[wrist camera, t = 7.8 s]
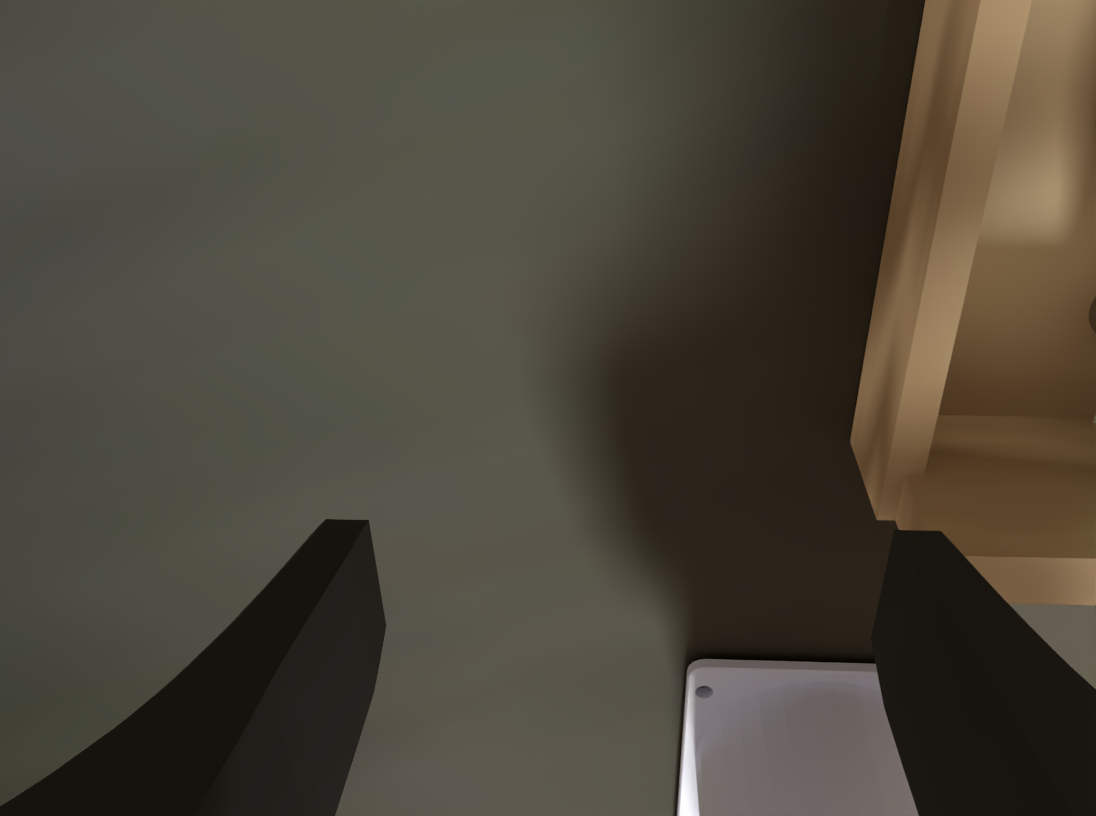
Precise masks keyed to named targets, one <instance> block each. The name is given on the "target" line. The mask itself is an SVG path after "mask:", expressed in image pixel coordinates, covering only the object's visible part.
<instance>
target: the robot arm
mask: <svg viewBox="0 0 1096 816" xmlns="http://www.w3.org/2000/svg"><path fill="white" fill-rule="evenodd" d="M385 629H386V622H385V616H384V610H383V604H382V598H381V592H380V586H379V580H378V574H377V568H376V562H375V556H374V550H373V544H372V538H371V532H370V526H369V520H334V519H326V520H325V521H324V522H323V523H322V524H321V525H319V527H318V528H317V529H316V530H315V531H314V532H313V533H312V534H311V536H310V537H309V538H308V539H307V540H306V541H305V542H304V544H303V545H302V546H301V547H300V548H299V549H298V551H297V552H296V553H295V554H294V555H293V556H292V557H291V559H290V560H289V561H288V562H287V563H286V564H285V565H284V567H283V568H282V569H281V570H280V571H279V572H278V573H277V574H276V576H275V577H274V578H273V579H272V580H271V581H270V582H269V583H268V584H267V586H266V587H265V588H264V589H263V590H262V591H261V592H260V593H259V594H258V595H257V596H256V597H255V598H254V599H253V601H252V602H251V603H250V604H249V605H248V606H247V607H246V608H245V609H244V610H243V611H242V612H241V613H240V614H239V615H238V617H237V618H236V619H235V620H234V621H233V622H232V623H231V624H230V625H229V626H228V627H227V628H226V629H225V630H224V631H223V632H222V633H221V634H220V635H219V636H218V637H217V638H216V639H215V640H214V641H213V642H212V643H211V644H210V645H209V646H208V647H207V648H205V649H204V650H203V651H202V652H201V653H200V654H199V655H198V656H197V657H196V658H195V659H194V660H193V661H192V662H191V663H190V664H189V665H188V666H187V667H186V668H185V669H184V670H183V671H182V672H180V673H179V674H178V675H177V676H176V677H175V678H174V679H173V680H172V681H170V682H169V683H168V684H167V685H166V686H165V687H164V688H163V689H161V690H160V691H159V692H158V693H157V694H156V695H154V696H153V697H152V698H151V699H150V700H149V701H147V702H146V703H145V704H144V705H143V706H141V707H140V708H139V709H138V710H136V711H135V712H134V713H133V714H132V715H130V716H129V717H128V718H127V719H126V720H124V721H123V722H122V723H120V724H119V725H118V726H117V727H115V728H114V729H113V730H111V731H110V732H109V733H107V734H106V735H104V736H103V737H102V738H100V739H99V740H97V741H96V742H95V743H93V744H92V745H90V746H89V747H88V748H86V749H85V750H84V751H82V752H81V753H79V754H78V755H77V756H75V757H74V758H72V759H71V760H70V761H68V762H67V763H65V764H64V765H63V766H61V767H60V768H59V769H57V770H56V771H54V772H53V773H51V774H50V775H48V776H47V777H45V778H44V779H43V780H41V781H39V782H38V783H36V784H35V785H33V786H32V787H30V788H29V789H27V790H25V791H24V792H22V793H21V794H19V795H18V796H16V797H15V798H13V799H12V800H10V801H8V802H7V803H5V804H3V805H2V806H0V816H335V814H336V811H337V808H338V804H339V801H340V798H341V795H342V792H343V789H344V786H345V782H346V779H347V776H348V773H349V770H350V767H351V764H352V761H353V757H354V754H355V751H356V748H357V745H358V742H359V739H360V735H361V732H362V729H363V726H364V723H365V719H366V716H367V713H368V710H369V706H370V703H371V700H372V697H373V693H374V689H375V684H376V679H377V674H378V668H379V663H380V658H381V652H382V646H383V641H384V635H385ZM871 639H872V645H873V651H874V657H875V662H876V664H869V663H833V662H797V661H762V660H726V659H700V660H697V661H694V662H692V663H691V664H690V665H689V666H688V669H687V678H686V692H685V706H684V720H683V734H682V748H681V762H680V777H679V791H678V805H677V816H1096V689H1095V688H1093V687H1092V686H1091V685H1090V684H1089V683H1088V682H1087V681H1086V680H1085V679H1084V678H1082V677H1081V676H1080V675H1079V674H1078V673H1077V672H1076V671H1075V670H1074V669H1073V668H1071V667H1070V666H1069V665H1068V664H1067V663H1066V662H1065V661H1064V660H1063V659H1062V658H1061V657H1060V656H1059V655H1058V654H1057V653H1056V652H1055V651H1054V650H1053V649H1052V648H1051V647H1050V646H1049V645H1048V644H1047V643H1046V642H1045V641H1044V640H1043V639H1042V638H1041V637H1040V636H1039V635H1038V634H1037V633H1036V632H1035V631H1034V630H1033V629H1032V628H1031V627H1030V626H1029V625H1028V624H1027V623H1026V622H1025V621H1024V620H1023V619H1022V618H1021V617H1020V616H1019V614H1018V613H1017V612H1016V611H1015V610H1014V609H1013V608H1012V607H1011V606H1010V605H1009V604H1008V603H1007V602H1006V601H1005V600H1004V599H1003V598H1002V596H1001V595H1000V594H999V593H998V592H997V591H996V590H995V589H994V588H993V587H992V586H991V585H990V584H989V582H988V581H987V580H986V579H985V578H984V577H983V576H982V575H981V574H980V573H979V571H978V570H977V569H976V568H975V567H974V566H973V565H972V564H971V563H970V562H969V561H968V559H967V558H966V557H965V556H964V555H963V554H962V553H961V552H960V551H959V550H958V549H957V547H956V546H955V545H954V544H953V543H952V542H951V541H950V540H949V539H948V538H947V537H946V536H945V535H944V533H943V532H942V531H927V530H894V534H893V539H892V544H891V548H890V553H889V558H888V562H887V567H886V572H885V576H884V581H883V586H882V590H881V595H880V600H879V604H878V609H877V614H876V618H875V623H874V628H873V632H872V637H871ZM701 686H708V687H705V688H701Z"/></svg>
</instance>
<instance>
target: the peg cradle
mask: <svg viewBox="0 0 1096 816" xmlns="http://www.w3.org/2000/svg"><path fill="white" fill-rule="evenodd" d="M1095 415H1096V0H925V6H924V12H923V18H922V23H921V29H920V35H919V41H918V47H917V53H916V59H915V64H914V70H913V76H912V82H911V88H910V94H909V99H908V105H907V111H906V117H905V123H904V129H903V135H902V140H901V146H900V152H899V158H898V164H897V170H896V176H895V181H894V187H893V193H892V199H891V205H890V211H889V216H888V222H887V228H886V234H885V240H884V246H883V252H882V257H881V263H880V269H879V275H878V281H877V287H876V293H875V298H874V304H873V310H872V316H871V322H870V328H869V333H868V339H867V345H866V351H865V357H864V363H863V369H862V374H861V380H860V386H859V392H858V398H857V404H856V410H855V415H854V421H853V427H852V433H851V439H850V443H851V446H852V449H853V452H854V455H855V458H856V461H857V464H858V467H859V470H860V472H861V475H862V478H863V481H864V484H865V487H866V490H867V493H868V496H869V499H870V502H871V505H872V508H873V510H874V513H875V516H876V519H877V520H895V521H896V523H897V526H898V529H899V530H927V531H942V532H943V533H944V535H945V536H946V537H947V538H948V539H949V540H950V541H951V542H952V543H953V544H954V545H955V546H956V547H957V549H958V550H959V551H960V552H961V553H962V554H963V555H964V556H965V557H966V558H967V559H968V561H969V562H970V563H971V564H972V565H973V566H974V567H975V568H976V569H977V570H978V571H979V573H980V574H981V575H982V576H983V577H984V578H985V579H986V580H987V581H988V582H989V584H990V585H991V586H992V587H993V588H994V589H995V590H996V591H997V592H998V593H999V594H1000V595H1001V596H1002V598H1003V599H1004V600H1005V601H1006V602H1007V603H1019V604H1061V605H1096V425H1095V423H1094V422H1093V421H1094V418H1095Z"/></svg>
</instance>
